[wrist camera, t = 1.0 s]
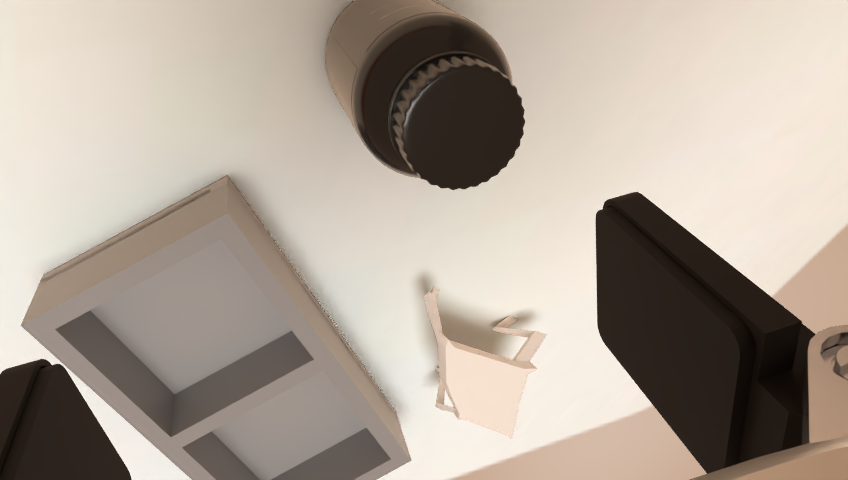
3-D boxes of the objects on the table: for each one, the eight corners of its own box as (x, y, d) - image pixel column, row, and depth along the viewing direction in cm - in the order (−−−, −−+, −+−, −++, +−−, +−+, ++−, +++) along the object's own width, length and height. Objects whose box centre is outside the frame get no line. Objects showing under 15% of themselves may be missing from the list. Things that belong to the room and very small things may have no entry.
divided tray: (227, 175, 34) (227, 213, 30) (395, 411, 45) (411, 460, 42) (43, 275, 34) (20, 325, 30) (258, 486, 45) (261, 542, 42)
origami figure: (555, 333, 46) (588, 378, 42) (471, 408, 47) (495, 459, 43) (447, 242, 40) (473, 284, 36) (355, 332, 41) (370, 383, 37)
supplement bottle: (450, 114, 36) (540, 209, 26) (327, 123, 34) (371, 228, 24) (456, -18, 32) (562, 31, 22) (319, -16, 31) (367, 39, 21)
